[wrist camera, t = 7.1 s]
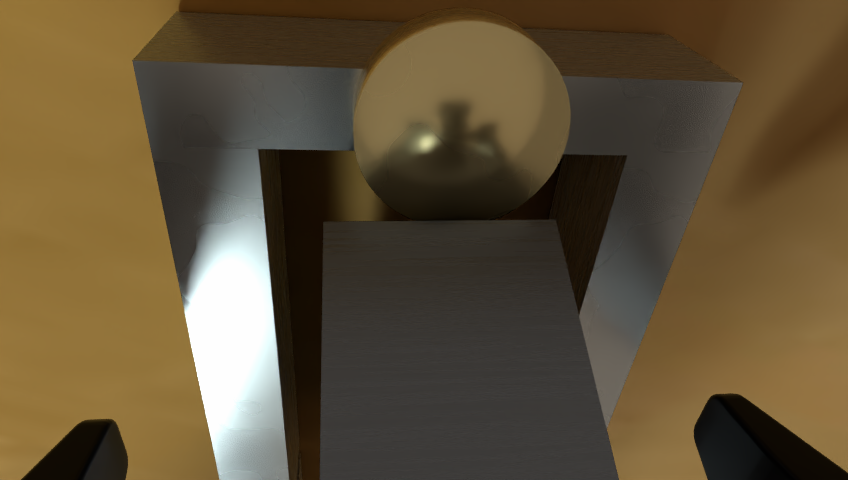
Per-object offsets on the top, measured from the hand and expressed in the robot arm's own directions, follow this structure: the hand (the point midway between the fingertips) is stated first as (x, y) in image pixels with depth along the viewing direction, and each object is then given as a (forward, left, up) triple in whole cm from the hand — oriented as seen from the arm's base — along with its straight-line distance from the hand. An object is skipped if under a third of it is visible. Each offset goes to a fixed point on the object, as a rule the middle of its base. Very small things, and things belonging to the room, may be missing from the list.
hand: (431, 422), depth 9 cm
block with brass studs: (0, 0, -2) cm, 2 cm away
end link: (+1, 0, -3) cm, 3 cm away
